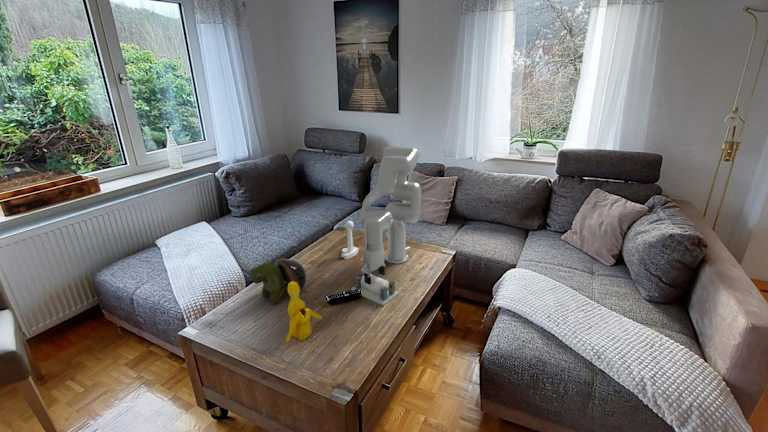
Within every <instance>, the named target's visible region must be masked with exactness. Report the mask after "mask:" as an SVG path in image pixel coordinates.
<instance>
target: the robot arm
mask: <svg viewBox="0 0 768 432" xmlns="http://www.w3.org/2000/svg"><path fill="white" fill-rule="evenodd" d="M382 155H383V156H382V157H383V158H382V159H381V161H380V164H379V165H380V166H379V168H378V169H379V170H378V175H377V180H376V185H375V188H373V189H372V190H371V191H370V192H369V193H368V194H367V195H366V196H365V198H364V200H363V202H362V205H361V211H360V214H359V215H360V216H359V220H360V221H359V222H360V224H361V225H362V226H364V241H365V242H364V243H365V244H364V247H365V248H364V249H363V256H362V268H361V269H360V273H361V275H362V276H363V275H364V278H365V283H367V284H369V285H370V284H371V277H370V274H372V272H374V271H376V270H377V271H378V274H379V275H381V276H385V274H386V272H385V270H386V269H385V267H386V263H390V264H395V265H396V264H397V265H398V264H403V263H405V262H407V261H408V260H409V255H408V254H407V252H408V251H410V249H411V248H410V246H407V245H406V241H407V240H406V235H407V234H406V233H407V227H406V225H405V223H417V222H419V220H420V215H421V200H422V188H421V184H419V182H414V181H408V176H410V175H411V174H412V173H413V171H414V169H415V168H416V166H417V164H418V162H419V158H420V154H419V150H418V149H416V148H415V147H408V146H407V147H402V146H387V147H385V148H384V149H383V151H382ZM388 195H389V196H390V198H391V199H393V200H397V201H403V202H397V201H393V202H389V203H388V204H387V205H386V207H385V210H376V209H371V206H372V204H373V203H374V201H376V200H378V199H379V198H382V197H385V196H388ZM404 201H407V202H404ZM385 230H387V253H385V249H384V245H383V244H384V243H383V242H384V241H383V240H384V239H383V231H385ZM367 272H369V273H368V274H367Z"/></svg>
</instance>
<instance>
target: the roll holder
mask: <svg viewBox="0 0 768 432" xmlns="http://www.w3.org/2000/svg"><path fill="white" fill-rule="evenodd" d="M367 273H369V271H367ZM361 277H362V276H356V277H354V286H353V287H352V288H351V289H350V291H351V290H355V289H358V290H361V295H362V296H361V295H360V296H361V297H363V298H365V299H367V300H368V301H369V300H370V301H372V302H374V303H376V304H378V305H381V306H383V307H384V306H386V305H387V304H389V303H390V302H391V301H393V300H394V299H395V298H396V297H398V296H400V293H399V291H396V283H395V281H389V282H388V283H389V290H388V291H387V288H385V287H383V288H381V294H378V293H376V292H374V291H372V290H369V289H367V288H365V287H362V286H361Z"/></svg>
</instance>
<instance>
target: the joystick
mask: <svg viewBox="0 0 768 432" xmlns="http://www.w3.org/2000/svg"><path fill="white" fill-rule="evenodd" d="M344 225H345V228H346V229H347V243H346V245H347V247H344V248H342V250H341V251H342V253H340V256H341V258H343V259H344V260H349V259H351V258H353V257H355V256H356V255H357V254H358V253H359V247H357V246H354V240H353V228H354V226H355V225H354V222H353V221H351V220H347V221H346V222H345V224H344Z"/></svg>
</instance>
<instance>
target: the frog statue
mask: <svg viewBox="0 0 768 432" xmlns="http://www.w3.org/2000/svg"><path fill="white" fill-rule="evenodd" d="M250 274H251V275H252V282H253V283H254V284H260V283H262V284H263V285H262V286H263V287H262V289H261V296H262V297H264V298H265V297H267V296H269V295H270V297H269V299H270V302H271V304H272V305H276V304H277V303H278V302H279V301H280V300H281V299H282V297H283V295H284V294H285V291H286V290H287V289H288V283H290V282H292V281H294V282H297V284H298V285H299V288H300V292H301V291H302V290H303V289H304V288H305V286H306V283H307V271H306V269H305V267H304V266H303V265H302V264H301V262H299V261H297V260H294V259H290V258H289V259H288V258H277V259H276V261H275V263H270V262H269V263H268V262H266V263H261V264H260V265H258V266H257V267H256V268H251V269H250Z"/></svg>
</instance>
